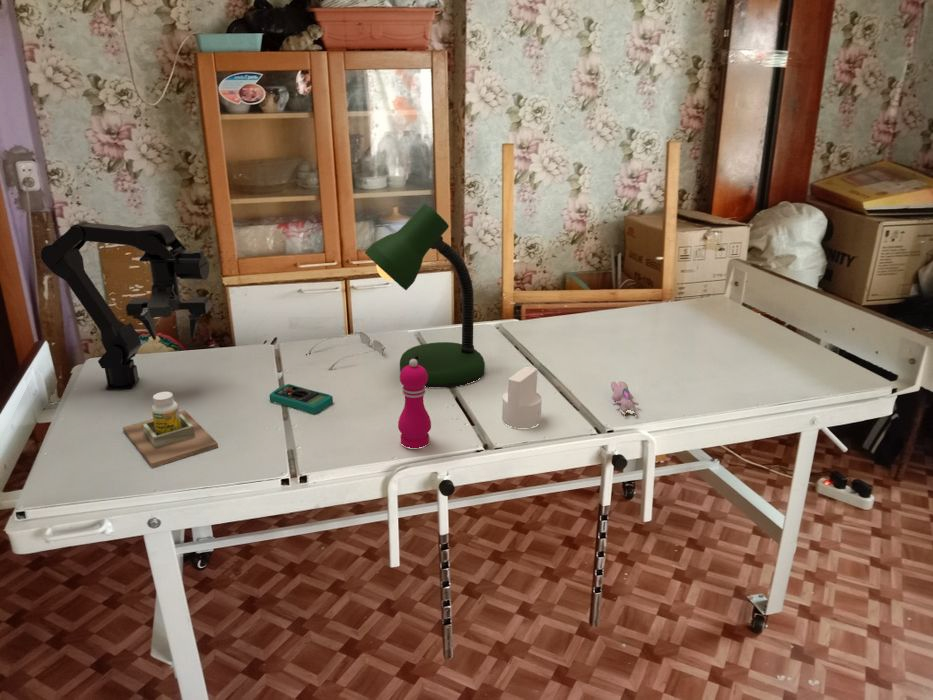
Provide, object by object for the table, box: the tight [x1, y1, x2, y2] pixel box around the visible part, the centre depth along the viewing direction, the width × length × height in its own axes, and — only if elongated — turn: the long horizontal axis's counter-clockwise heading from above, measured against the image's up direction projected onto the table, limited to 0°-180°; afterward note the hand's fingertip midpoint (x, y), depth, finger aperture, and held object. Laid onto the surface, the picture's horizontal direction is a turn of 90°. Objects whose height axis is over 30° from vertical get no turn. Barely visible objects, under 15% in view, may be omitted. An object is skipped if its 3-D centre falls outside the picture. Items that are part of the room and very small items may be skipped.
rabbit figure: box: [610, 381, 639, 415], centre depth 184 cm, size 6×6×15 cm
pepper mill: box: [397, 359, 432, 448], centre depth 163 cm, size 7×7×20 cm
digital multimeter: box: [269, 383, 334, 415], centre depth 184 cm, size 7×15×3 cm, turn 61°
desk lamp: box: [364, 203, 486, 389], centre depth 193 cm, size 31×23×45 cm
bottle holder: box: [122, 410, 219, 468], centre depth 166 cm, size 20×14×4 cm
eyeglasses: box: [305, 331, 386, 371], centre depth 212 cm, size 15×18×4 cm
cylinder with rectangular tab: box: [501, 366, 543, 428], centre depth 174 cm, size 9×9×12 cm
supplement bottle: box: [151, 391, 182, 436], centre depth 165 cm, size 5×5×10 cm
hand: (173, 338), depth 187 cm, fingers open, 9 cm apart
